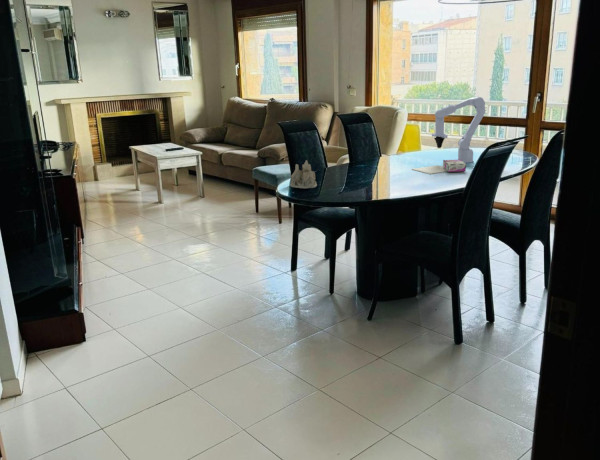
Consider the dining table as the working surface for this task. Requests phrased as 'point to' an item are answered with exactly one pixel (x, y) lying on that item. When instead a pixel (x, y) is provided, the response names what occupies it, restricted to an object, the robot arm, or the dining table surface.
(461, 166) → the candy bar box
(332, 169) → the dining table surface
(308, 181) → the white castle figurine
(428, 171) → the mat
